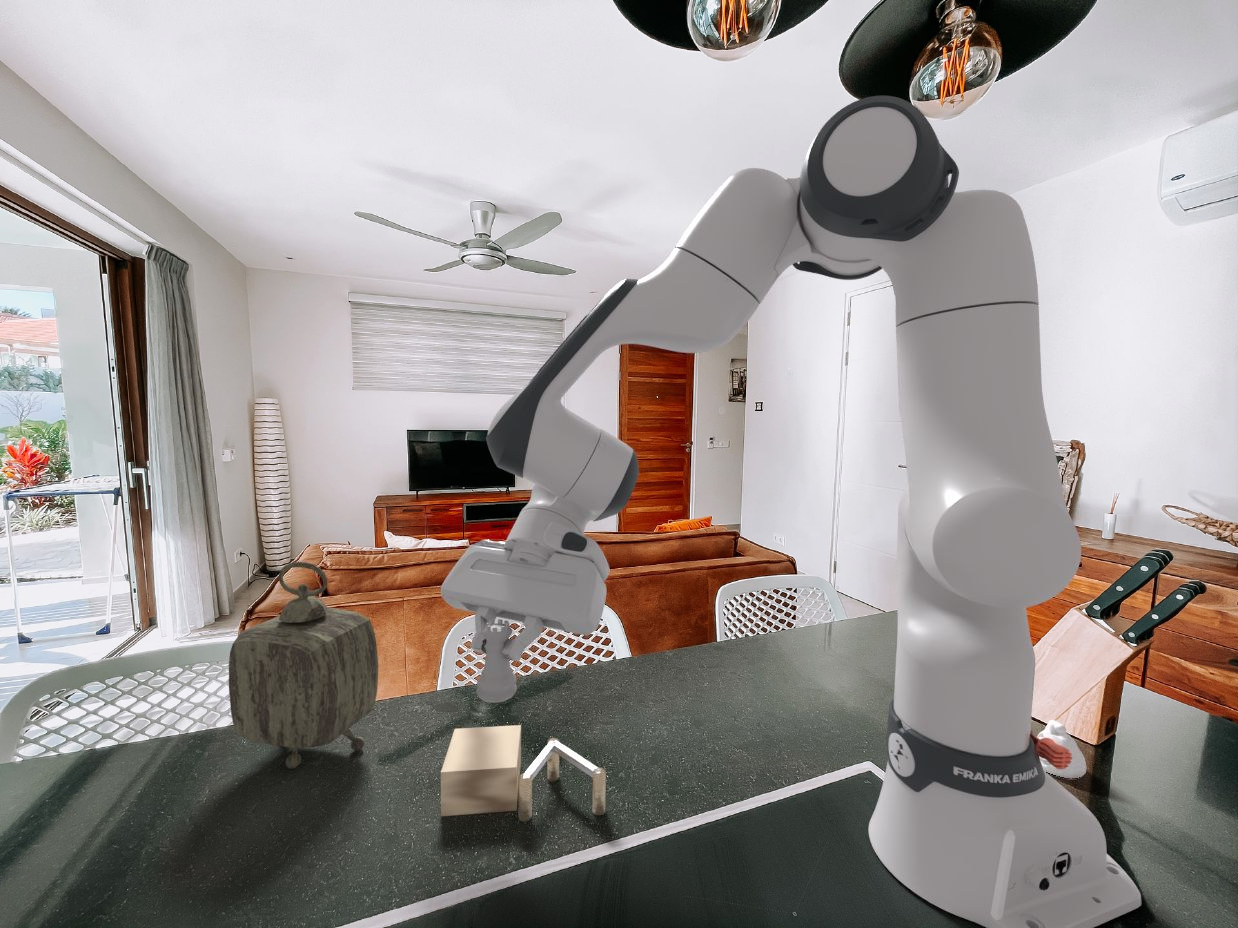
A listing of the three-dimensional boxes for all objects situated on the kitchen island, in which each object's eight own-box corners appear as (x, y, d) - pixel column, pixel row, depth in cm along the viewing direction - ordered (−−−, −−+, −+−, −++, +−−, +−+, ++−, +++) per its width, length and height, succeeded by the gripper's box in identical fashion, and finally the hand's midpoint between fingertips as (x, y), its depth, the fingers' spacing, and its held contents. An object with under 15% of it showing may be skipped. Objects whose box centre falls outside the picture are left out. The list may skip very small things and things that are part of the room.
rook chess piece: (507, 706, 55) (508, 633, 54) (468, 701, 56) (469, 629, 55) (523, 686, 59) (524, 618, 59) (487, 681, 60) (487, 614, 60)
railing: (599, 769, 64) (600, 734, 63) (605, 814, 56) (606, 775, 56) (522, 775, 63) (522, 739, 62) (518, 821, 55) (518, 781, 55)
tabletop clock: (380, 744, 68) (376, 558, 66) (327, 791, 59) (321, 578, 57) (288, 728, 71) (282, 550, 69) (225, 771, 62) (216, 568, 61)
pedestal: (521, 763, 65) (521, 724, 64) (516, 810, 57) (516, 766, 57) (455, 767, 64) (454, 728, 63) (441, 816, 56) (440, 772, 56)
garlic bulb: (1022, 709, 68) (1067, 712, 68) (1019, 752, 69) (1063, 755, 68) (1053, 733, 63) (1101, 737, 62) (1049, 780, 63) (1097, 784, 63)
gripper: (463, 524, 67) (405, 625, 58) (608, 543, 59) (565, 662, 51) (484, 551, 71) (433, 647, 63) (622, 572, 63) (584, 685, 55)
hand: (493, 654), depth 57 cm, fingers closed on rook chess piece, 3 cm apart
